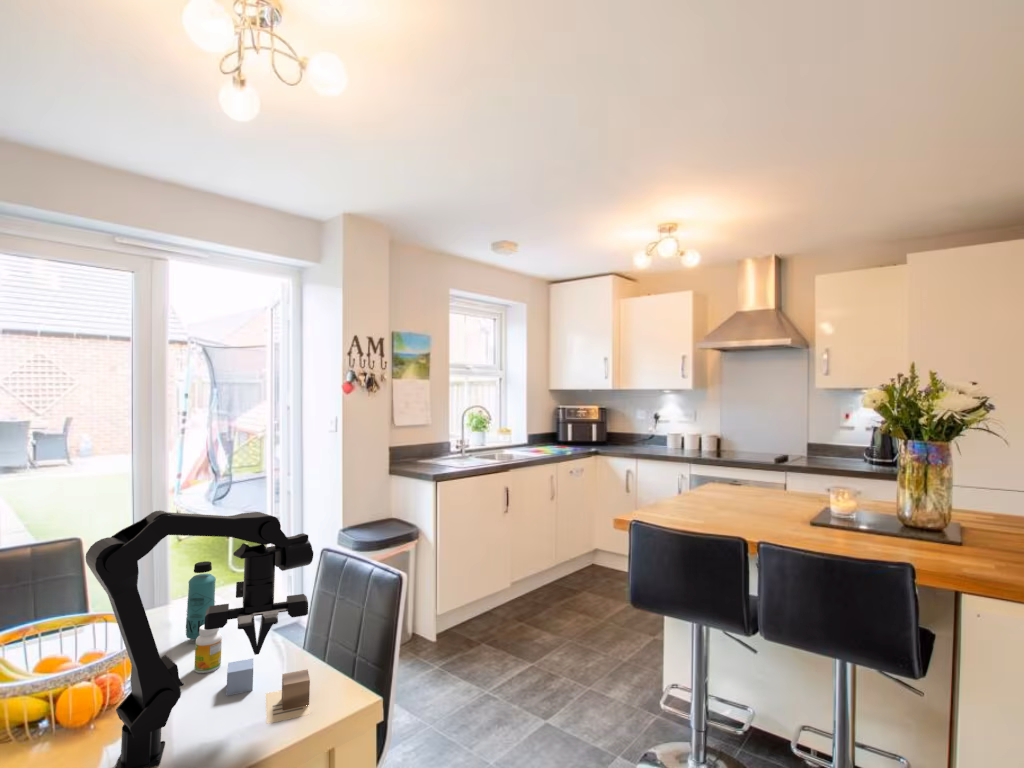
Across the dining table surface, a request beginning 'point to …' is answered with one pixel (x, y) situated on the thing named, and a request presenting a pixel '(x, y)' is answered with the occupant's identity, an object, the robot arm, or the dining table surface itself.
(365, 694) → the dining table surface
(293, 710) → the letter
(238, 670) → the cube
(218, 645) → the supplement bottle
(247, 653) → the dining table surface
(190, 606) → the beverage bottle
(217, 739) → the dining table surface
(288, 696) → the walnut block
